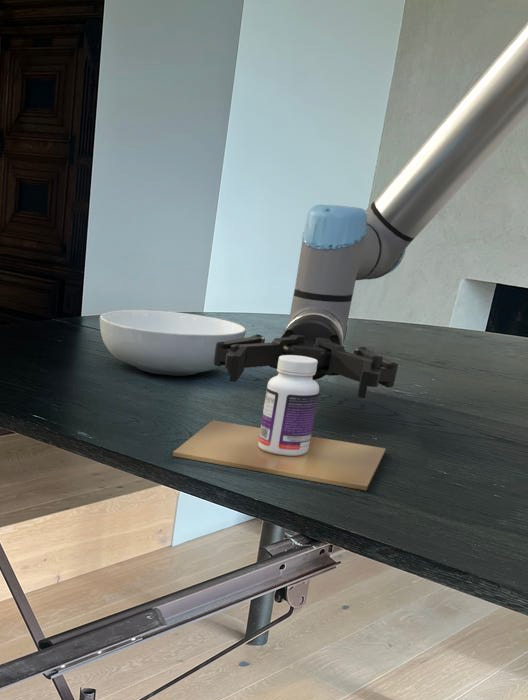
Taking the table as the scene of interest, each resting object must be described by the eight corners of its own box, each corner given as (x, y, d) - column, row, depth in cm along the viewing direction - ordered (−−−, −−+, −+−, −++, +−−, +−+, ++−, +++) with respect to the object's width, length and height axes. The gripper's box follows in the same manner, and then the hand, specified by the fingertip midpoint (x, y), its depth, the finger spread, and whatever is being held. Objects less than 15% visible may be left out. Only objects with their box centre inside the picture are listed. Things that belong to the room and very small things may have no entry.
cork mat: (385, 452, 111) (386, 448, 111) (366, 491, 98) (367, 486, 97) (211, 424, 117) (212, 419, 117) (172, 456, 104) (173, 451, 104)
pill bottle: (314, 449, 108) (331, 359, 104) (298, 460, 104) (315, 366, 100) (267, 439, 111) (282, 351, 106) (249, 449, 106) (264, 357, 102)
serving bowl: (267, 384, 140) (275, 334, 136) (134, 388, 132) (139, 335, 129) (194, 354, 157) (200, 308, 153) (73, 355, 149) (76, 308, 146)
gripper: (407, 388, 123) (411, 427, 104) (208, 363, 128) (178, 396, 110) (422, 325, 119) (428, 354, 101) (216, 303, 125) (187, 327, 107)
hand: (298, 376), depth 105 cm, fingers open, 13 cm apart
